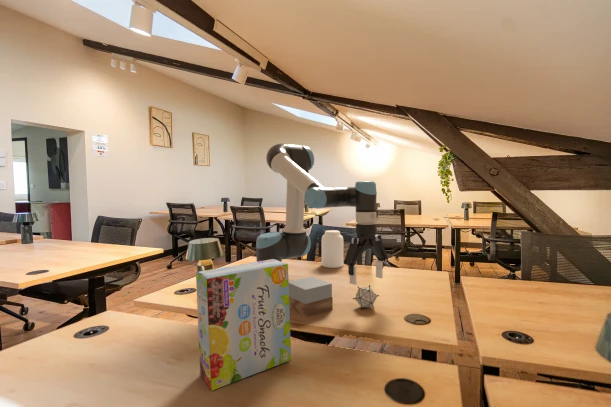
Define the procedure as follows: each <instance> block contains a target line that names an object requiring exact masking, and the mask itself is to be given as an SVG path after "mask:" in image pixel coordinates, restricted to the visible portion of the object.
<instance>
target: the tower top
mask: <svg viewBox="0 0 611 407" xmlns="http://www.w3.org/2000/svg"><path fill="white" fill-rule="evenodd" d="M289 296H290V297H292V298H294V299H296V300H298V301H300V302H302V303H304V304H308V303H311V302H315V301H319V300H323V299H326V298H330V297H333V284H332V283H331V282H328V281H326V280H322V279H320V278H317V277H314V276H308V277H303V278H299V279H294V280H289Z"/></svg>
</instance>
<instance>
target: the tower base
mask: <svg viewBox="0 0 611 407" xmlns="http://www.w3.org/2000/svg"><path fill="white" fill-rule="evenodd" d="M289 310H293V311H294V312H297V314H300V315H301V316H303V317H305V318H308V317H310V316H314V315H318V314H321V313H325V312H328V311H332V310H333V296H332V297H330V298H326V299H323V300H319V301H315V302H311V303H308V304H304V303H302V302H300V301H298V300H296V299H294V298H292V297H290V296H289Z"/></svg>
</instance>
